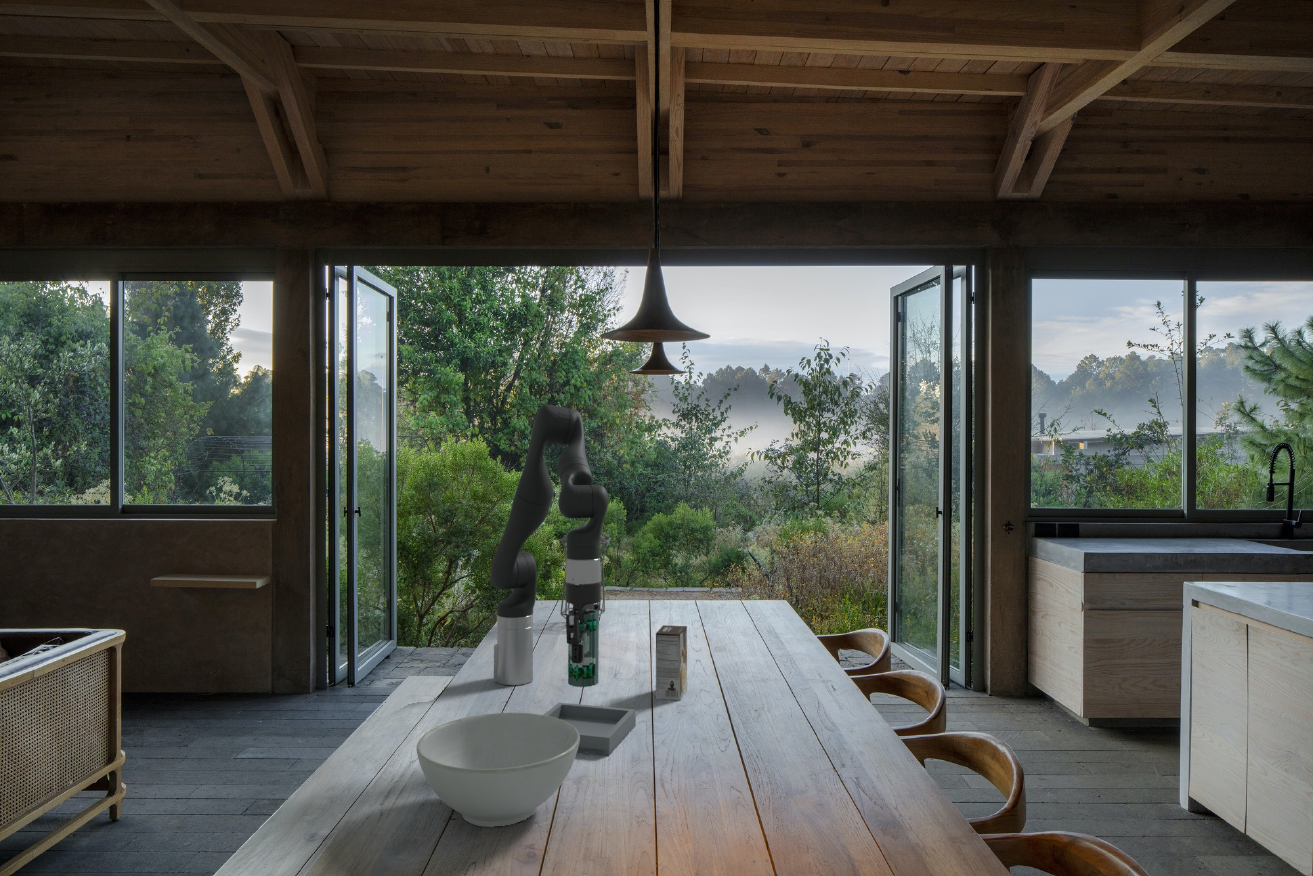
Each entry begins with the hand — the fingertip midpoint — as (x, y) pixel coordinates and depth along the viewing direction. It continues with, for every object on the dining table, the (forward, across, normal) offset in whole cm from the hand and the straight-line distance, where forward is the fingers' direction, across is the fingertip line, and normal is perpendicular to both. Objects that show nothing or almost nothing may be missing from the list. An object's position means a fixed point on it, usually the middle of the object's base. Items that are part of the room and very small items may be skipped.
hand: (582, 658), depth 173 cm
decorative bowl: (+16, +37, -1) cm, 41 cm away
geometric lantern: (+17, -99, -36) cm, 107 cm away
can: (+5, 0, 0) cm, 5 cm away
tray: (+16, 0, 0) cm, 16 cm away
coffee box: (+17, -33, +11) cm, 38 cm away
